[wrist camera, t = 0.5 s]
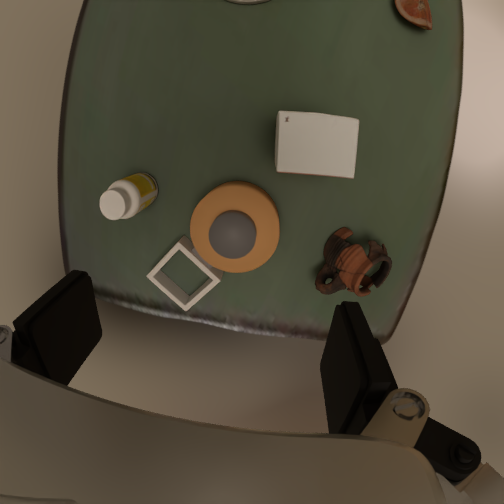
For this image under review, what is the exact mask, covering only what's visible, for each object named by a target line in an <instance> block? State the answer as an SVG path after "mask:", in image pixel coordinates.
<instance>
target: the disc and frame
mask: <svg viewBox="0 0 504 504" xmlns="http://www.w3.org/2000/svg"><path fill="white" fill-rule="evenodd" d="M190 234H191V239H192V242H193V243H192V242H191V241H190V240H189V239H188V238H187V237H186V236H185V235H184V236H183V237H182V238H181V239H180V240H179V241H178V242H177V243H176V244H175V245H174V246H173V247H172V248H171V249H170V250H169V252H168V253H167V254H166V255H165V256H164V257H163V258H162V259H161V260H160V261H159V262H158V263H157V265H156V266H155V267H154V268H153V269H152V270H151V271H150V273H149V274H148V275H147V276H146V277H148V278H149V279H150V280H151V281H152V282H153V283H154V284H155V285H156V286H157V287H159V288H160V289H161V290H162V291H163V292H164V293H165V294H166V295H168V296H169V297H170V298H171V299H172V300H173V301H174V302H176V303H177V304H178V305H179V306H180V307H181V308H183V309H184V310H185V311H187V310H188V309H189V308H190V307H191V306H193V305H194V304H195V303H196V302H197V301H198V300H199V299H201V298H202V297H203V296H204V295H205V294H206V293H207V292H209V291H210V290H211V289H212V288H213V287H214V286H215V285H216V284H218V283H219V282H220V281H221V278H222V276H223V273H224V272H223V271H226V272H233V273H241V272H247V271H251V270H253V269H256V268H258V267H259V266H261V265H262V264H264V263H265V262H266V261H267V260H268V259H269V258H270V257H271V256H272V254H273V253H274V251H275V249H276V247H277V244H278V241H279V234H280V231H279V215H278V210H277V207H276V205H275V203H274V201H273V200H272V198H271V197H270V196H269V194H268V193H267V192H265V191H264V190H263V189H262V188H260V187H259V186H257V185H255V184H252V183H249V182H244V181H231V182H226V183H223V184H221V185H219V186H217V187H215V188H214V189H213V190H212V191H210V192H209V193H208V194H207V195H206V196H205V197H204V198H203V199H202V200H201V201H200V202H199V204H198V205H197V206H196V208H195V210H194V212H193V214H192V218H191V222H190ZM179 249H180V250H181V251H182V252H183V253H184V254H185V255H186V256H187V257H188V258H189V259H190V260H191V261H193V262H194V263H195V264H196V265H197V266H198V267H199V268H200V269H201V270H202V271H203V272H205V273H206V274H207V275H208V276H209V277H210V278H209V279H208V280H207V281H206V282H205V283H204V284H203V285H201V286H200V287H199V288H198V289H197V290H196V291H195V292H194V293H193V294H192V295H190V296H189V295H188V294H187V293H186V292H184V291H183V290H182V289H181V288H180V287H179V286H178V285H177V284H175V283H174V282H173V281H172V280H171V279H170V278H169V277H168V276H167V275H165V274H164V273H163V272H162V271H161V270H160V269H161V268H162V267H163V265H164V264H165V263H166V262H167V261H168V260H169V259H170V258H171V257H172V256H173V255H174V254H175V253H176V252H177V251H178V250H179Z"/></svg>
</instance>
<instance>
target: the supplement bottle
mask: <svg viewBox="0 0 504 504" xmlns="http://www.w3.org/2000/svg"><path fill="white" fill-rule="evenodd" d="M157 193H158V187H157V184H156V181H155V180H154V178H153V177H152V176H150V175H149V174H147V173H136V174H133V175H131V176H128V177H126V178H123V179H120V180H118V181H116V182H114V183H113V184H111V185H110V187H109V188H108V190H107V191H105V192H104V193H103V194H102V196H101V198H100V209H101V211H102V213H103V215H104V216H105V217H107V218H108V219H110V220H117V219H120V218H121V219H127V218H130V217H132V216H134V215H135V214H137V213H138V212H140V211H141V210H143V209H144V208H146V207H147V206H149V205H150V204H152V203H153V202H154V200H155V199H156V197H157Z"/></svg>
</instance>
